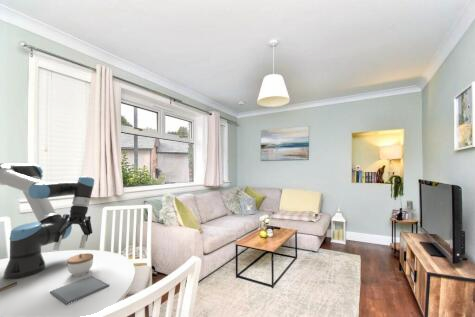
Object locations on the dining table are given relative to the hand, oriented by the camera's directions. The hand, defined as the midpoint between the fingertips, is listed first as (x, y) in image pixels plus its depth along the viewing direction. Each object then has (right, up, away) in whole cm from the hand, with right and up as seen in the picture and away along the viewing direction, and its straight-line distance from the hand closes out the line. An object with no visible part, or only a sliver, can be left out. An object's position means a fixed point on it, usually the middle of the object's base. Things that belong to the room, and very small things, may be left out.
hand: (69, 248), depth 113 cm
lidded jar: (+6, -12, -1) cm, 13 cm away
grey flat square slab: (+17, -11, -16) cm, 26 cm away
